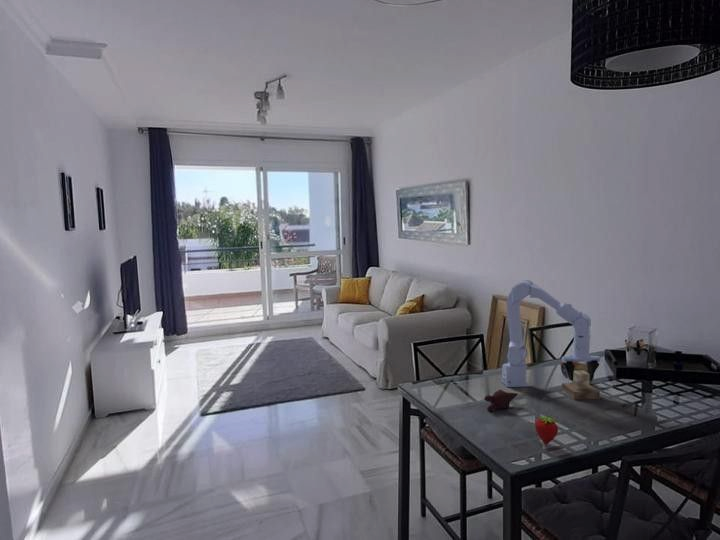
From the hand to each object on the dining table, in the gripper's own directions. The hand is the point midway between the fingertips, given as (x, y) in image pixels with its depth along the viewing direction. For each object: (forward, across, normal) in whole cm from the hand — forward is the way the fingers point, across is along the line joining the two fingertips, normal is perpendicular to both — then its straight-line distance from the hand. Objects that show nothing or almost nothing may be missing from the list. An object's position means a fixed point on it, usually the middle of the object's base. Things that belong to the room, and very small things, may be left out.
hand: (580, 379), depth 183 cm
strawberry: (+6, -31, -39) cm, 50 cm away
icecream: (+6, -35, -10) cm, 37 cm away
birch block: (+3, 0, 0) cm, 3 cm away
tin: (+6, +7, +16) cm, 19 cm away
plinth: (+6, 0, 0) cm, 6 cm away
